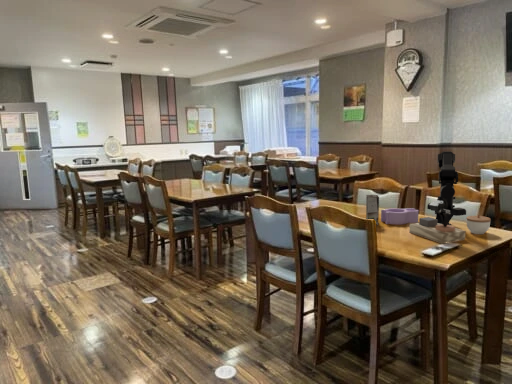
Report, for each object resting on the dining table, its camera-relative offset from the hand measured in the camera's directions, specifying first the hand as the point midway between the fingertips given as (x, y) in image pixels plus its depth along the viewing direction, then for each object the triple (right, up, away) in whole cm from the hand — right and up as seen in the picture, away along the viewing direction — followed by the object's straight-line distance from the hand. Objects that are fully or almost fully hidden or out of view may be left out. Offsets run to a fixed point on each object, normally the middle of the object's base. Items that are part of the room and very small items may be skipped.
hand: (445, 226), depth 188 cm
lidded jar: (+21, -4, +10) cm, 24 cm away
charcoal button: (-4, -1, +11) cm, 11 cm away
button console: (-2, -6, +6) cm, 8 cm away
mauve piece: (-8, -1, +37) cm, 38 cm away
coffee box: (-25, -2, +36) cm, 44 cm away
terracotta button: (0, -4, +1) cm, 4 cm away
